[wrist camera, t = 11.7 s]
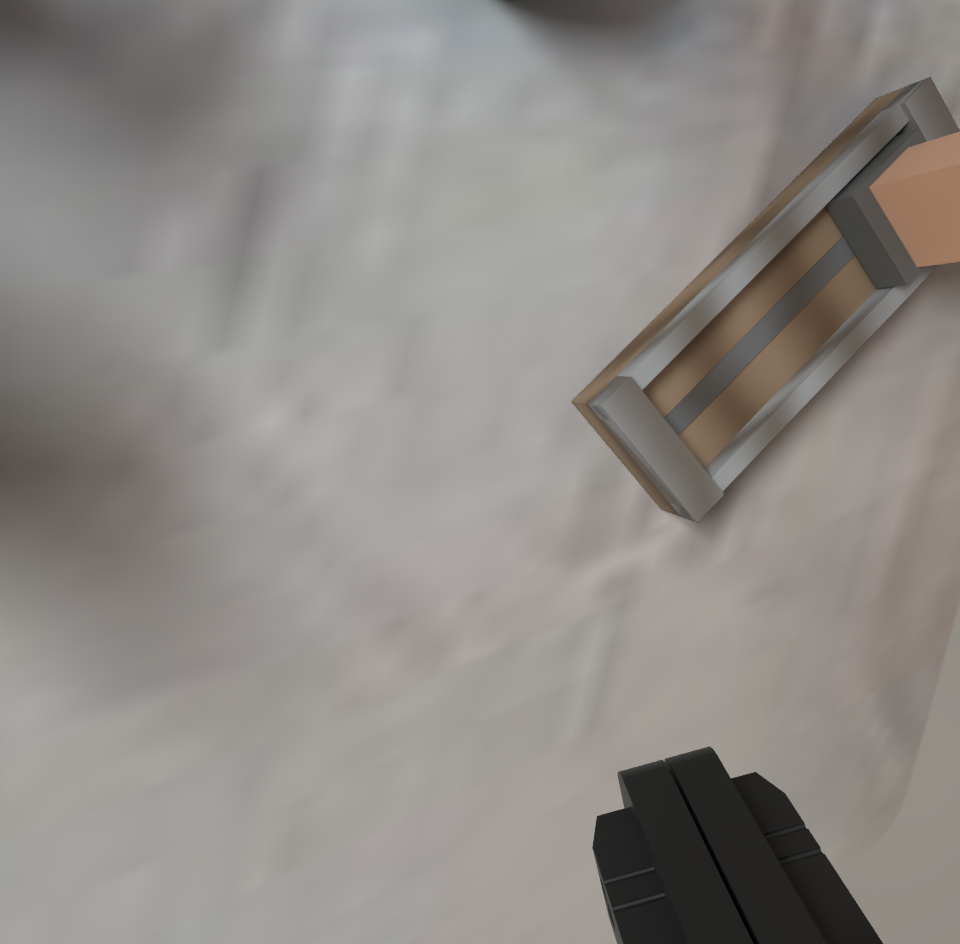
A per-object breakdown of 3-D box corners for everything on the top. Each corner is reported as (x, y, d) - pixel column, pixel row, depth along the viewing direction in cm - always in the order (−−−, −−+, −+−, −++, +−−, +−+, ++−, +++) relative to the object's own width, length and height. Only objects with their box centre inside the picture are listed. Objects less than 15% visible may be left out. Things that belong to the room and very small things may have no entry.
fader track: (661, 509, 42) (697, 522, 39) (571, 401, 40) (601, 406, 36) (944, 216, 45) (1000, 205, 42) (876, 98, 43) (930, 76, 39)
